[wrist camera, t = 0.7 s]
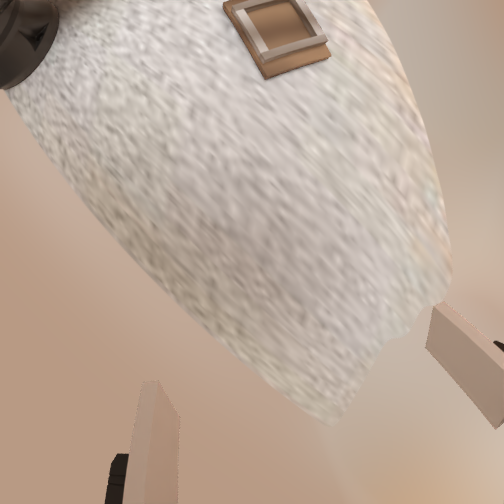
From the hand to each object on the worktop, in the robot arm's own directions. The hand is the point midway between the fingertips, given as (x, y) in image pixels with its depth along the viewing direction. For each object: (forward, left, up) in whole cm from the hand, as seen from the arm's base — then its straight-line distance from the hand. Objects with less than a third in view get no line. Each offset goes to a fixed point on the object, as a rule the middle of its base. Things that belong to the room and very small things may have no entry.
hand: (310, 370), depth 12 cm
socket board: (-21, +14, -26) cm, 36 cm away
